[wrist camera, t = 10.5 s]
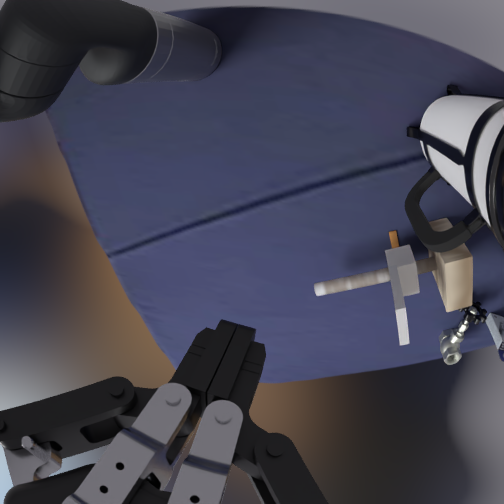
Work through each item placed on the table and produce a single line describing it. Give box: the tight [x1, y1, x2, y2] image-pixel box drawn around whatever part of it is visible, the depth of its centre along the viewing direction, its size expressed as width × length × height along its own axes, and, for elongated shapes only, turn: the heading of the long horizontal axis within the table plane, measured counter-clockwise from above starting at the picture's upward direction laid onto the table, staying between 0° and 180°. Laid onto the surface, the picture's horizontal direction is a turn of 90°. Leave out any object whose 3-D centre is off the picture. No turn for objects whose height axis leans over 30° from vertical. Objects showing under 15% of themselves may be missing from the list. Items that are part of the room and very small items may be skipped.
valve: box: [439, 301, 487, 365], centre depth 45 cm, size 7×7×12 cm
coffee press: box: [405, 85, 504, 253], centre depth 21 cm, size 17×16×30 cm
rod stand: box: [314, 218, 473, 312], centre depth 41 cm, size 23×8×12 cm, turn 114°
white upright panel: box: [385, 245, 420, 345], centre depth 36 cm, size 4×6×14 cm, turn 24°
